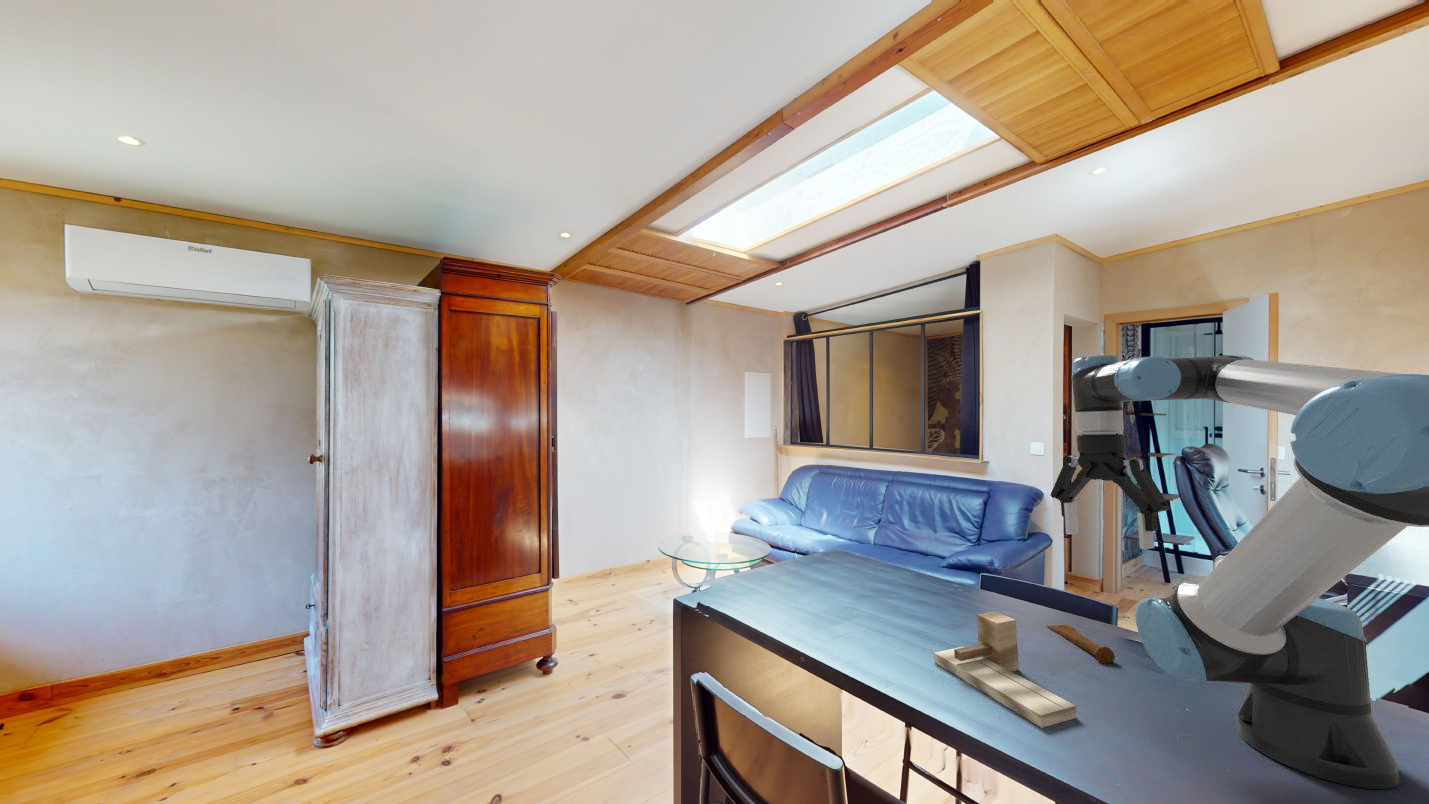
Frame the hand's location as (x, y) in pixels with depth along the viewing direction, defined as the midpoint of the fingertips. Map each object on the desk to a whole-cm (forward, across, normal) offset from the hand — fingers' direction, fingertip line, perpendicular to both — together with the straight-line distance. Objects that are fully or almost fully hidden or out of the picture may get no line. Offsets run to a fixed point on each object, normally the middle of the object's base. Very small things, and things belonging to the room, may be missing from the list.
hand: (1107, 540), depth 95 cm
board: (+27, +6, +24) cm, 36 cm away
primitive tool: (+27, +14, -9) cm, 32 cm away
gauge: (+27, +12, +20) cm, 36 cm away
